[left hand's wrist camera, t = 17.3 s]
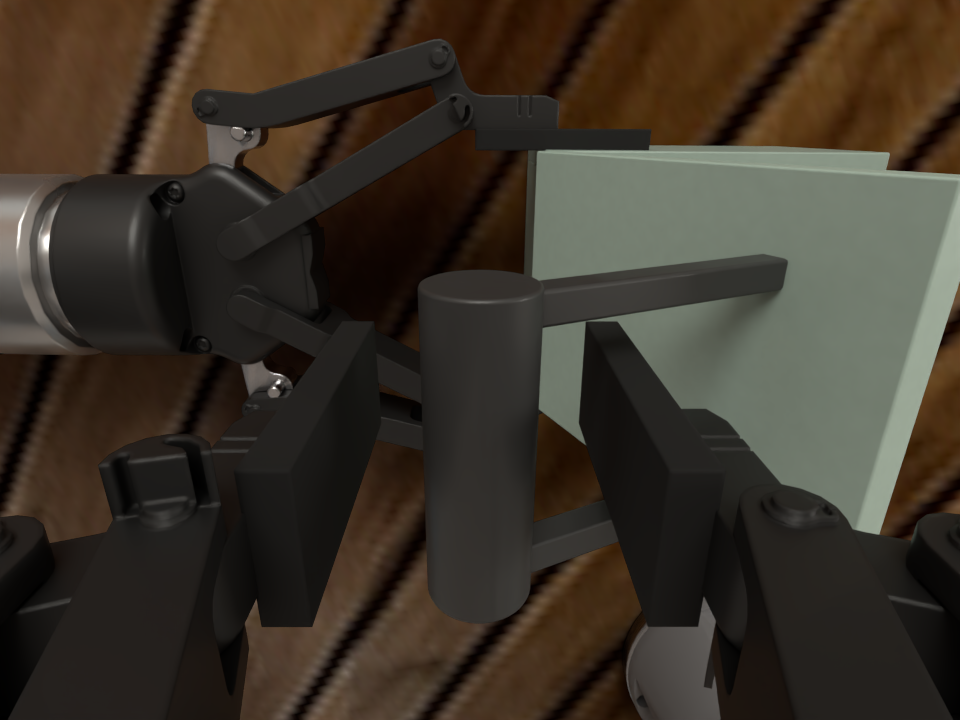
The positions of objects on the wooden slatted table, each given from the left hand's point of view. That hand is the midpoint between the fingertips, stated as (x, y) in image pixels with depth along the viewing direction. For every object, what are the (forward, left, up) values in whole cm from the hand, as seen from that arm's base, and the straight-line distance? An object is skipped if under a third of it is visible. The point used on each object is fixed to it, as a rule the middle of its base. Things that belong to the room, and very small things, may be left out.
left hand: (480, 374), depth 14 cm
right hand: (+3, -5, -11) cm, 13 cm away
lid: (+3, -5, -3) cm, 6 cm away
